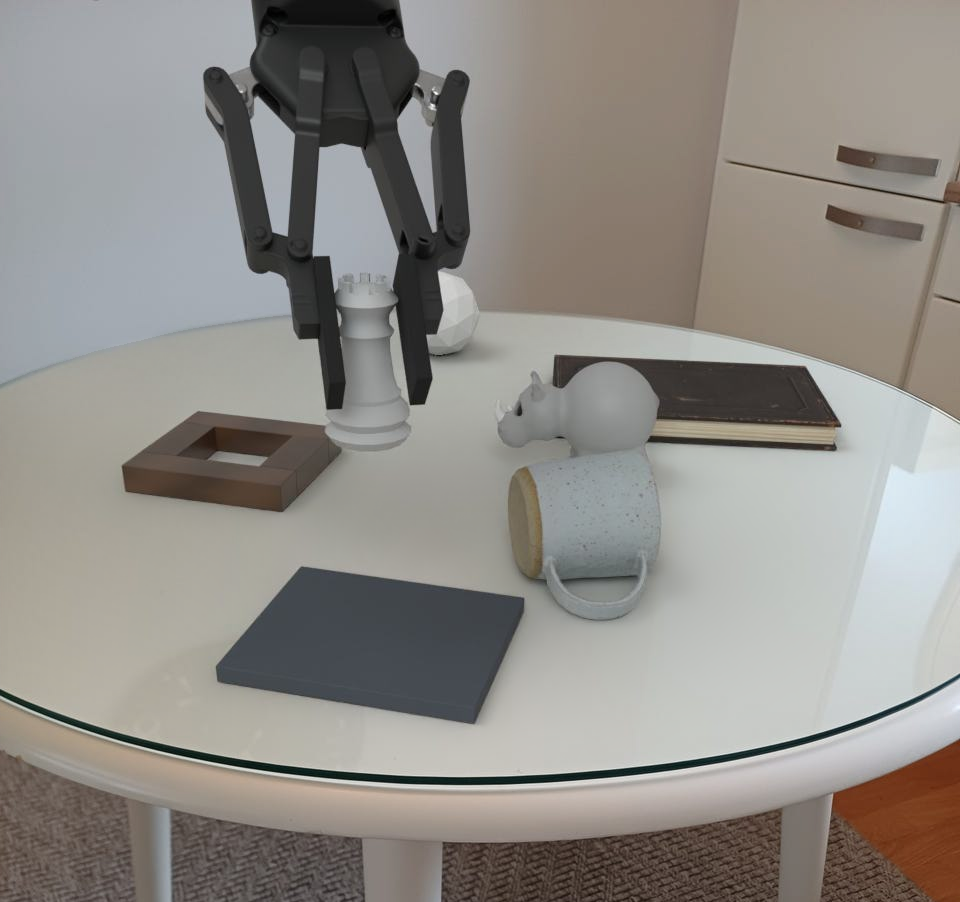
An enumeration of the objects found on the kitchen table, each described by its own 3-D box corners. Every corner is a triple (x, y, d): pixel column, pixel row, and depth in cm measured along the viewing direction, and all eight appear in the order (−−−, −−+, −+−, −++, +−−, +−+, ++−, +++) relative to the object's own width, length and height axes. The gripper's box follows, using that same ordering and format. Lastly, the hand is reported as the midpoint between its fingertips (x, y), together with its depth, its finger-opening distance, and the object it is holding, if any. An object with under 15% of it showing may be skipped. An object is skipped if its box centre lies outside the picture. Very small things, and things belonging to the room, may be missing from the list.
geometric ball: (447, 385, 111) (443, 334, 104) (386, 343, 113) (378, 290, 106) (495, 335, 113) (495, 282, 106) (435, 295, 115) (430, 240, 108)
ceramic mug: (500, 549, 74) (504, 438, 69) (619, 540, 75) (630, 431, 71) (541, 632, 65) (550, 511, 61) (675, 620, 66) (692, 501, 62)
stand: (124, 491, 80) (120, 465, 79) (200, 434, 90) (197, 410, 89) (282, 512, 78) (280, 485, 77) (341, 451, 88) (341, 426, 87)
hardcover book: (836, 450, 91) (841, 423, 89) (551, 437, 92) (552, 409, 90) (800, 388, 104) (804, 363, 103) (552, 376, 105) (554, 352, 104)
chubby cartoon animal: (492, 453, 88) (496, 345, 84) (645, 458, 88) (656, 351, 84) (491, 489, 82) (495, 375, 78) (655, 495, 82) (668, 381, 78)
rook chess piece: (336, 420, 60) (330, 266, 56) (419, 426, 59) (418, 271, 55) (314, 450, 56) (306, 287, 52) (402, 457, 56) (401, 293, 52)
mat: (216, 681, 59) (215, 665, 59) (301, 580, 69) (301, 565, 69) (474, 724, 56) (474, 708, 56) (524, 612, 67) (524, 597, 66)
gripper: (465, 36, 63) (529, 419, 58) (164, 31, 60) (204, 438, 55) (490, -78, 56) (566, 347, 51) (150, -91, 53) (194, 363, 47)
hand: (378, 393), depth 53 cm, fingers closed on rook chess piece, 3 cm apart
